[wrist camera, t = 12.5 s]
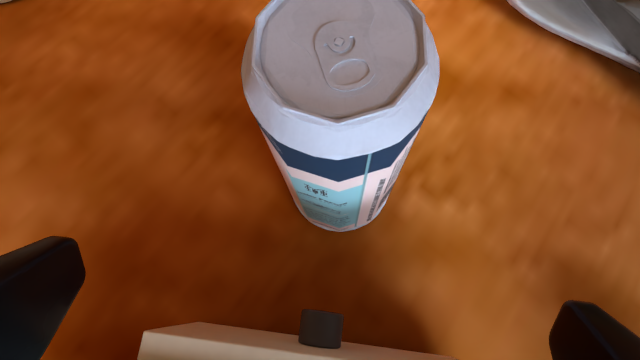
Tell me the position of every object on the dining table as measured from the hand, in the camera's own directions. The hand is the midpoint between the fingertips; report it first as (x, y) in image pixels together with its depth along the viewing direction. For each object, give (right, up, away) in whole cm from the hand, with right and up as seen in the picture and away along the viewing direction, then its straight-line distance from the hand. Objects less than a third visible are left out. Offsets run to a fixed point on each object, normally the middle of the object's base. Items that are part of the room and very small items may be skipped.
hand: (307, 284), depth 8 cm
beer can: (+1, +2, +13) cm, 13 cm away
